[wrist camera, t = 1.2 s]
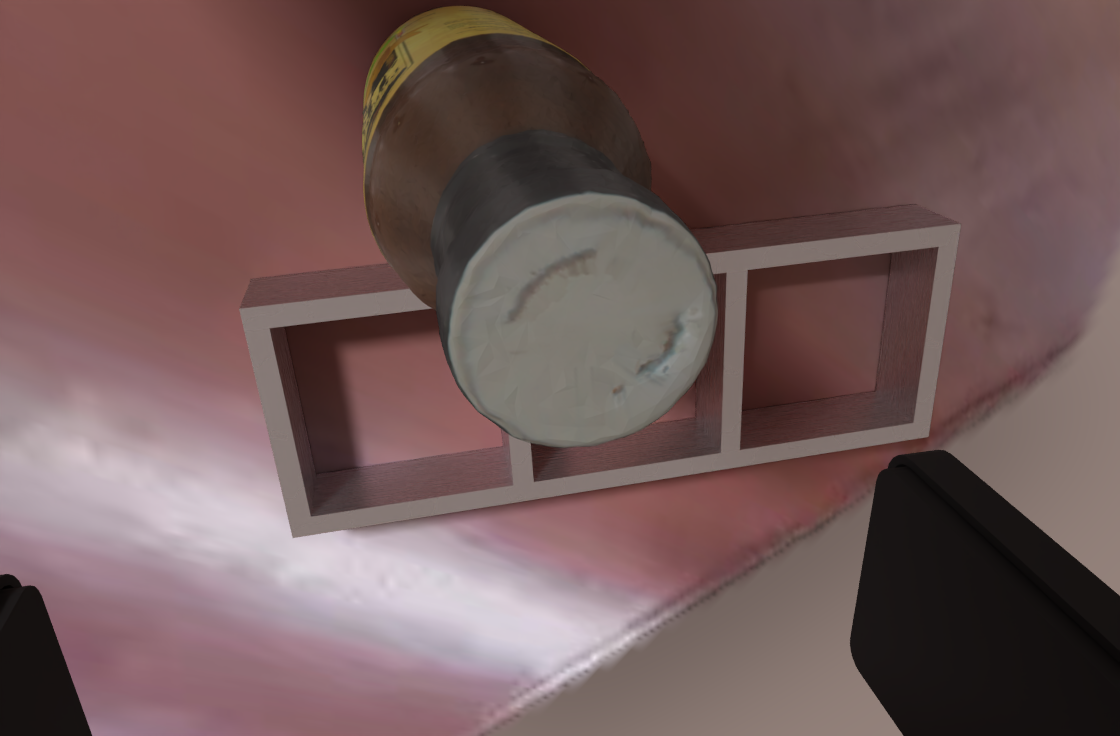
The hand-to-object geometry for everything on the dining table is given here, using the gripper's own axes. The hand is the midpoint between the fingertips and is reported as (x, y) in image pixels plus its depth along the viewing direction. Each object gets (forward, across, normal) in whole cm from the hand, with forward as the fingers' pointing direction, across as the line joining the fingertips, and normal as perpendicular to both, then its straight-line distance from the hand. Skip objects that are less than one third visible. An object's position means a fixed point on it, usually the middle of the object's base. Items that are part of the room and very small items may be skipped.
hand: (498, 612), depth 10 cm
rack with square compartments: (+23, -7, +8) cm, 25 cm away
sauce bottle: (+23, -2, -2) cm, 23 cm away
